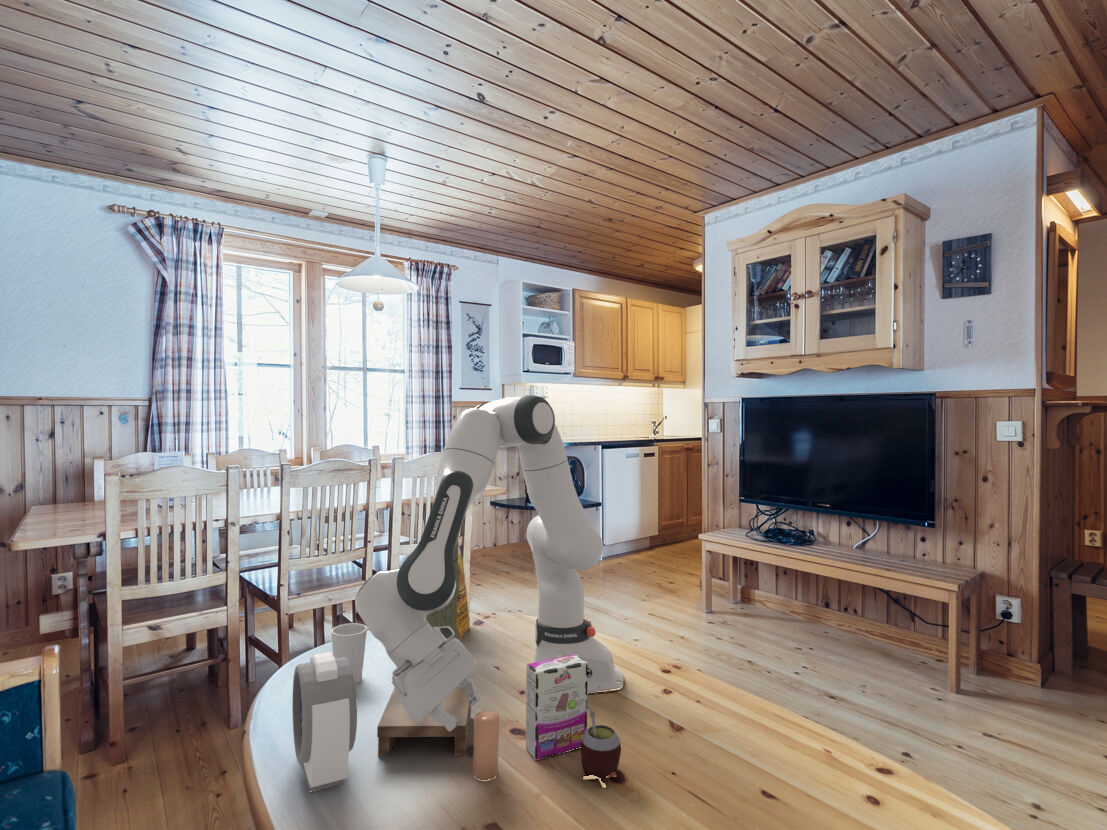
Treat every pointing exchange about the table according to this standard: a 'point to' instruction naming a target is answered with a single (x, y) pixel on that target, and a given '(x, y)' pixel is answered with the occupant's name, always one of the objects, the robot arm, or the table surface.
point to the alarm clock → (324, 718)
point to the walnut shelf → (424, 722)
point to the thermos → (449, 612)
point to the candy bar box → (556, 705)
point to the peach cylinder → (486, 745)
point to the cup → (350, 646)
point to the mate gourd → (600, 750)
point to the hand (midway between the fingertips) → (466, 714)
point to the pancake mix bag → (462, 601)
